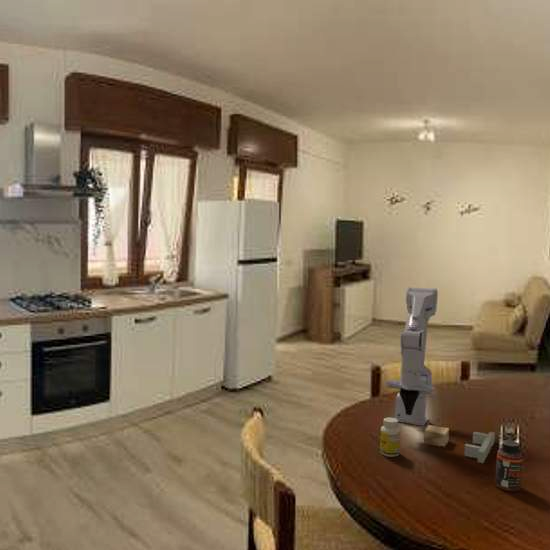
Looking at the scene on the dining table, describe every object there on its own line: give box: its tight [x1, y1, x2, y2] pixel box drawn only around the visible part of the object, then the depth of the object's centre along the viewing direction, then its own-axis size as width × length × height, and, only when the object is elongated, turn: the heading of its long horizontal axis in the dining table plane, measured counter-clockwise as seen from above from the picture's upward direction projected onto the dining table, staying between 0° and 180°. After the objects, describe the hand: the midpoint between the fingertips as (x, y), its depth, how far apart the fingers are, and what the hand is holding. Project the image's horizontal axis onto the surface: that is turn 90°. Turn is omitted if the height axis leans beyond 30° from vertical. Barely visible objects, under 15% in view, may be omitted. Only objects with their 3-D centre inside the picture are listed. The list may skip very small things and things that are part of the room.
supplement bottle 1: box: [379, 417, 401, 458], centre depth 167 cm, size 5×5×10 cm
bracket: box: [464, 431, 496, 464], centre depth 171 cm, size 6×18×3 cm, turn 151°
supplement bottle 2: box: [494, 439, 524, 492], centre depth 147 cm, size 6×6×11 cm
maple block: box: [423, 424, 450, 448], centre depth 177 cm, size 6×6×4 cm
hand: (409, 414), depth 181 cm, fingers closed
